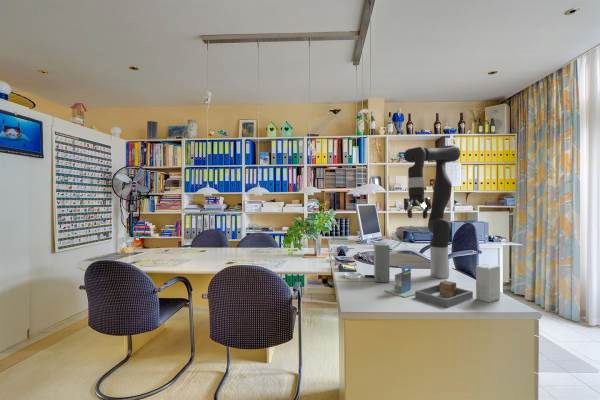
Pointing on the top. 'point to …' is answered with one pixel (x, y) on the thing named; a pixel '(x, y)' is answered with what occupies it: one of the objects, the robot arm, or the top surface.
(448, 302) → the parts bin
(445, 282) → the walnut block
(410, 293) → the mat
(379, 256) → the hard drive box
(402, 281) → the label tape box
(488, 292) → the skincare box
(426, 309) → the top surface
